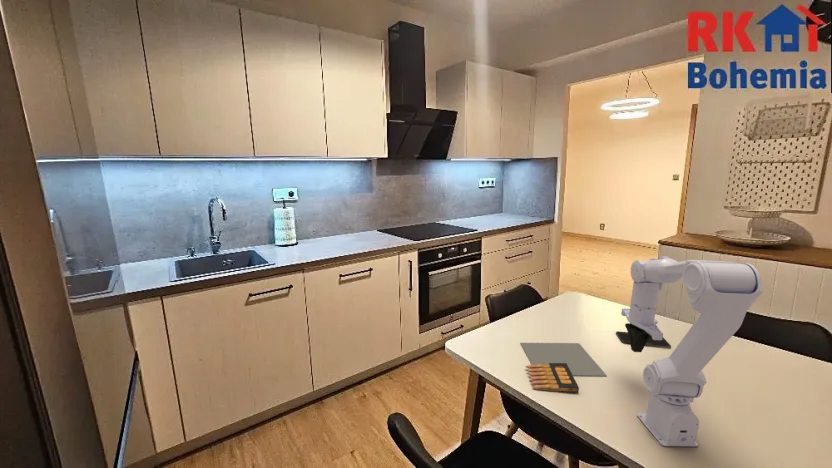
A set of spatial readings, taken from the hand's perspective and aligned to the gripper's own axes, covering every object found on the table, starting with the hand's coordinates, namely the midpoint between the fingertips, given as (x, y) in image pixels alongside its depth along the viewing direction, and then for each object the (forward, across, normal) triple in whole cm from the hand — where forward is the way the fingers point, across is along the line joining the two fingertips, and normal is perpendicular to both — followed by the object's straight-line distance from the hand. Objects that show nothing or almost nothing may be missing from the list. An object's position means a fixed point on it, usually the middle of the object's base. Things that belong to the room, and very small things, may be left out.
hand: (636, 350), depth 94 cm
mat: (+10, +12, +15) cm, 22 cm away
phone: (+11, +24, -18) cm, 32 cm away
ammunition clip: (+9, +1, +16) cm, 18 cm away
